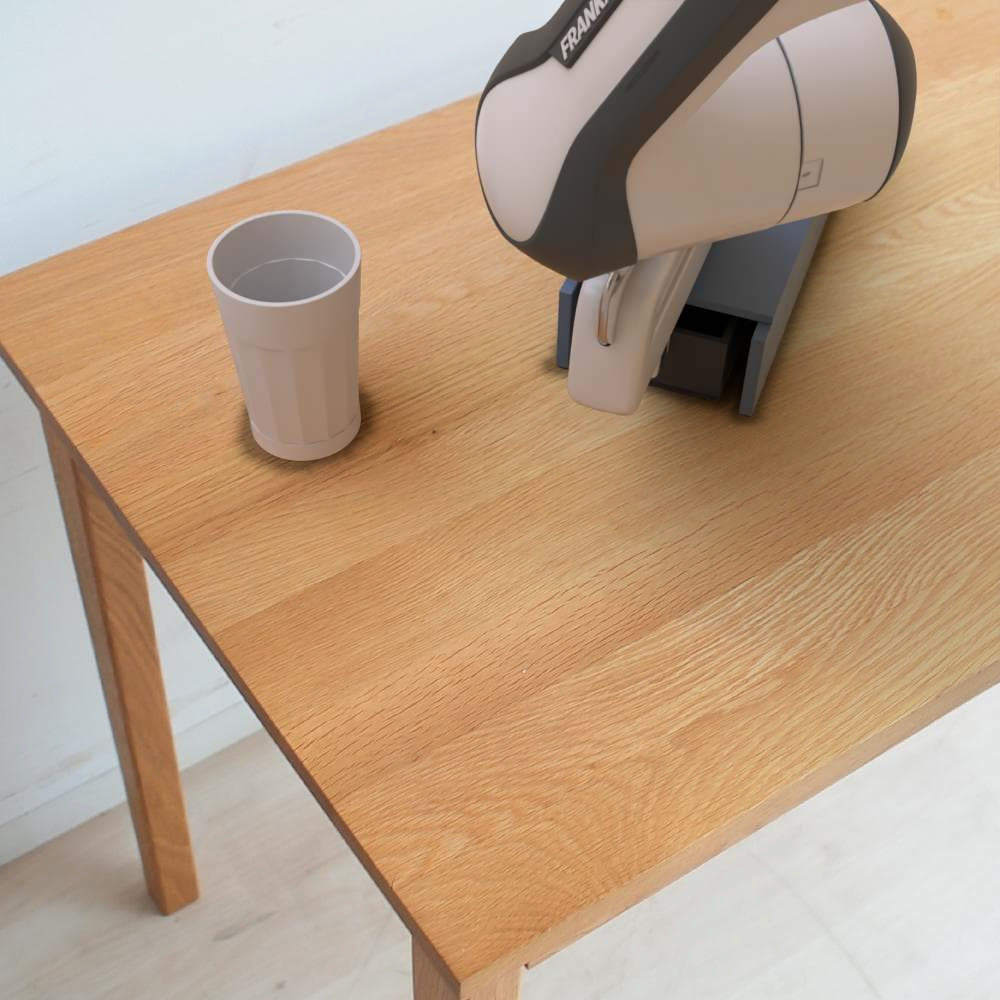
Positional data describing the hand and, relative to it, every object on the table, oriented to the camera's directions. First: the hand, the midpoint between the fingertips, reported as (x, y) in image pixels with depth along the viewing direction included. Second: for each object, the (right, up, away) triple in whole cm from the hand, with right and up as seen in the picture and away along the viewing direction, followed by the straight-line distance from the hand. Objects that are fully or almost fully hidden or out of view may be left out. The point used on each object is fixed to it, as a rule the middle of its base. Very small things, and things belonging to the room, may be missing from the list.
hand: (647, 363), depth 83 cm
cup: (-20, -3, +1) cm, 20 cm away
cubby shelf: (+6, +8, +11) cm, 15 cm away
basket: (+2, +2, +6) cm, 7 cm away
